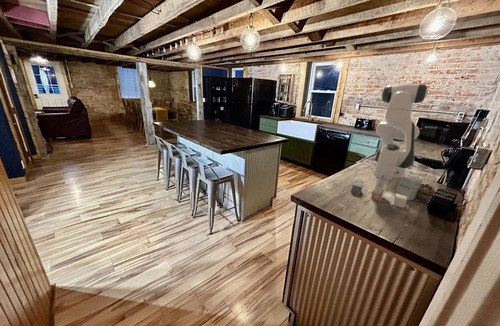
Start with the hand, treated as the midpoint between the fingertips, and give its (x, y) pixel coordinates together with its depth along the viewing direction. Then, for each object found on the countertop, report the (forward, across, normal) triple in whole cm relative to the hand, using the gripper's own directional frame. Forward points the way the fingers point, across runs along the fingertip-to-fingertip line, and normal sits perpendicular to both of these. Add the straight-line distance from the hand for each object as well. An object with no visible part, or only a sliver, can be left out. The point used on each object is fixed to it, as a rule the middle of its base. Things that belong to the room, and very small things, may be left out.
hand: (376, 195), depth 118 cm
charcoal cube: (+2, 0, +11) cm, 11 cm away
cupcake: (+2, +16, -22) cm, 27 cm away
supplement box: (+2, +13, -14) cm, 19 cm away
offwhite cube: (+2, 0, -11) cm, 11 cm away
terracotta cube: (+2, 0, 0) cm, 2 cm away
